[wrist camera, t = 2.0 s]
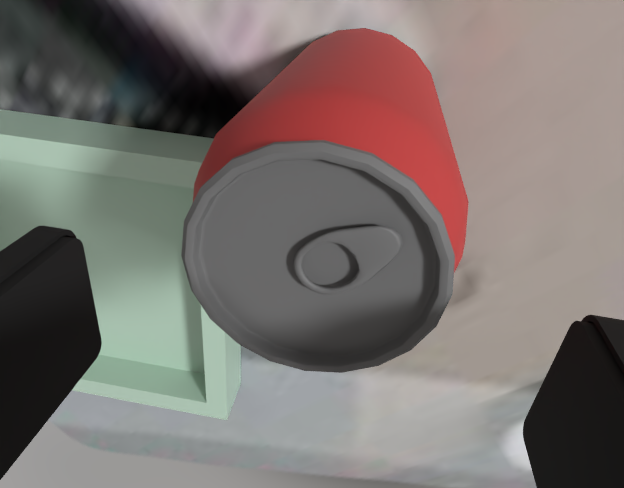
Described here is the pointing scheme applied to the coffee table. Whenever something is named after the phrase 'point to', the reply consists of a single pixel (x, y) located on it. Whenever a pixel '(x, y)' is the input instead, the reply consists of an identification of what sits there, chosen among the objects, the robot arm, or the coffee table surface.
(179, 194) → the tray
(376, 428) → the coffee table surface
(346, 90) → the beer can
